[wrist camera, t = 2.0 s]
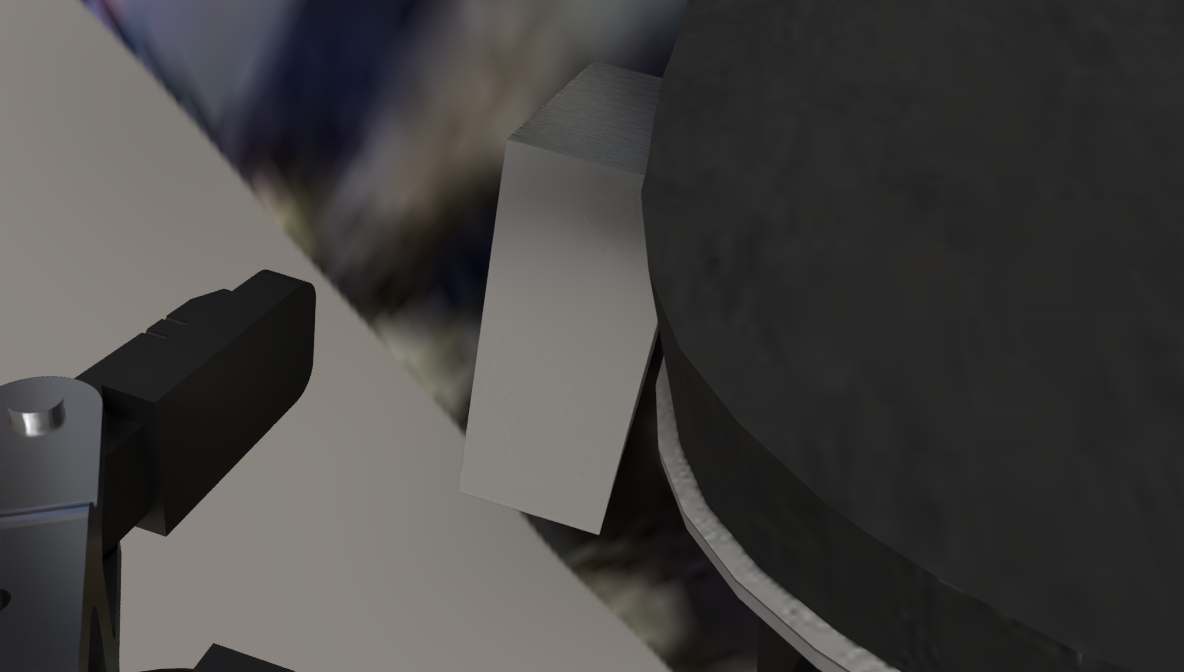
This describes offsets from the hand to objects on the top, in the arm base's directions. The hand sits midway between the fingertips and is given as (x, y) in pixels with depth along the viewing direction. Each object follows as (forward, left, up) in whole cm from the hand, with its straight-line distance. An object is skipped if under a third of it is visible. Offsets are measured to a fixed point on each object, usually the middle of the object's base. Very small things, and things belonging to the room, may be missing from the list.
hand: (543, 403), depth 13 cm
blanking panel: (0, 0, -7) cm, 7 cm away
